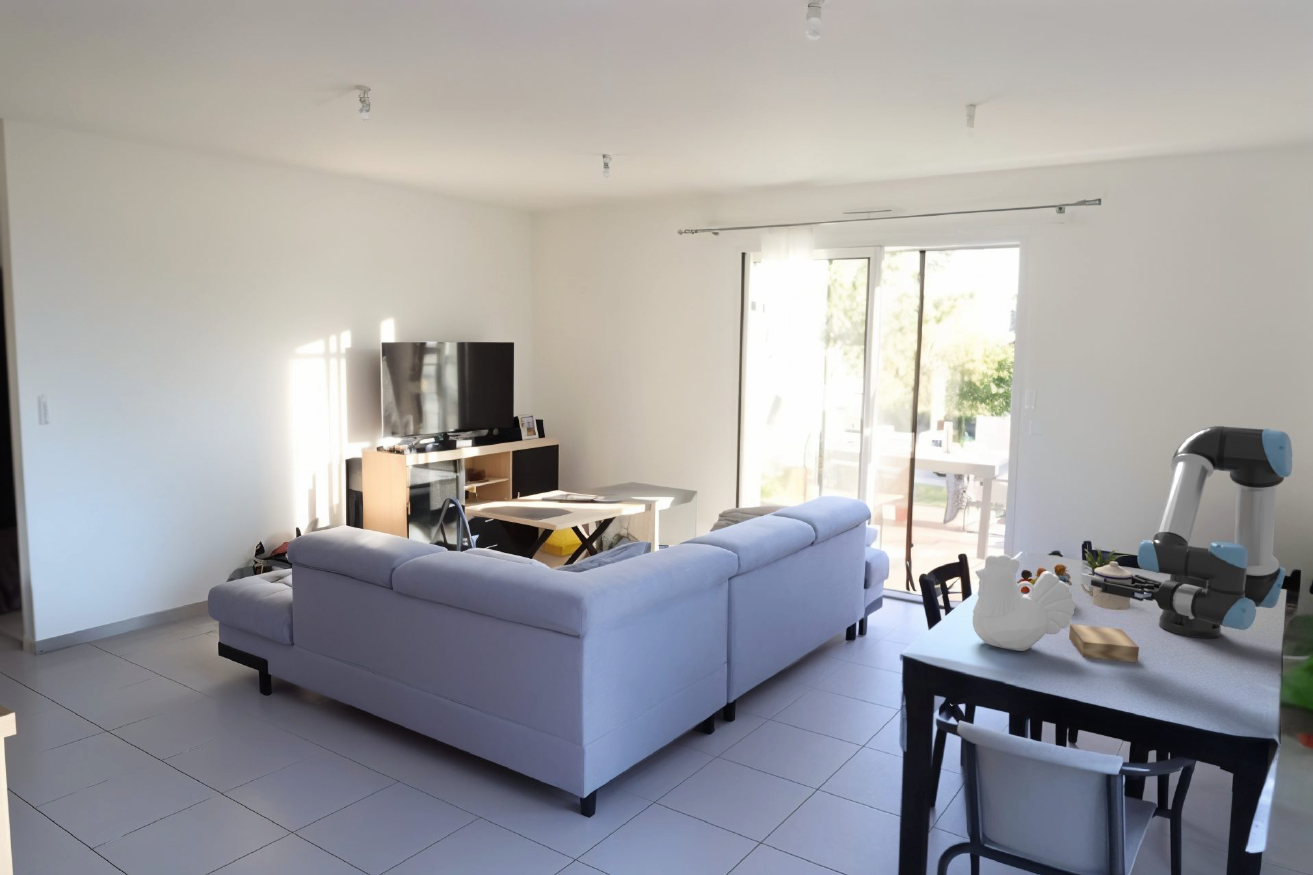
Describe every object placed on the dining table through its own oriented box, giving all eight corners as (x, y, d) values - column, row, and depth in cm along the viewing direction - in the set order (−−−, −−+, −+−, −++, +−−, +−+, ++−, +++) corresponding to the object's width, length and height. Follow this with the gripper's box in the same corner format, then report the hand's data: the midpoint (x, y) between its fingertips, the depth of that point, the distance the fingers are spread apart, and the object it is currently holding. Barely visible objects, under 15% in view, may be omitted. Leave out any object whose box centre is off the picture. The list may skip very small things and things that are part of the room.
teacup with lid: (1129, 603, 226) (1133, 560, 225) (1131, 612, 218) (1134, 568, 217) (1078, 596, 232) (1082, 554, 230) (1078, 605, 224) (1082, 562, 222)
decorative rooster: (968, 650, 225) (974, 557, 223) (972, 632, 240) (978, 545, 237) (1073, 666, 215) (1081, 570, 213) (1071, 647, 230) (1079, 557, 227)
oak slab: (1120, 643, 234) (1121, 628, 234) (1137, 662, 220) (1138, 647, 219) (1069, 638, 237) (1070, 624, 237) (1082, 656, 223) (1084, 641, 222)
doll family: (1064, 599, 276) (1068, 559, 275) (1088, 607, 267) (1091, 566, 266) (1011, 603, 270) (1014, 562, 268) (1033, 612, 261) (1036, 570, 259)
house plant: (1128, 594, 284) (1132, 545, 283) (1125, 603, 273) (1129, 553, 271) (1080, 586, 292) (1084, 539, 290) (1075, 595, 280) (1079, 547, 279)
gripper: (1155, 620, 204) (1066, 595, 223) (1201, 606, 216) (1113, 584, 235) (1158, 589, 203) (1069, 567, 222) (1204, 577, 215) (1115, 557, 234)
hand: (1092, 576), depth 228 cm, fingers closed on teacup with lid, 9 cm apart
